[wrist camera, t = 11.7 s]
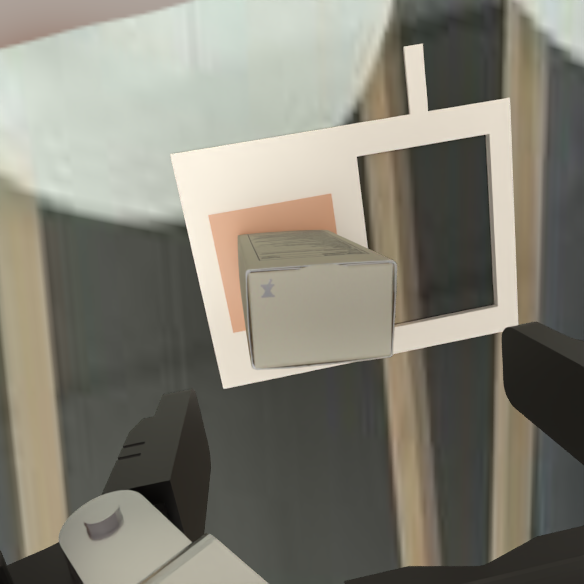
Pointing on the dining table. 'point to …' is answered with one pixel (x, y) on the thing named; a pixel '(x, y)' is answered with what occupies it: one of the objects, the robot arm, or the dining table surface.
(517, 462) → the dining table surface
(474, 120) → the window card
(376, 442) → the dining table surface
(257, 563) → the dining table surface
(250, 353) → the skincare box
